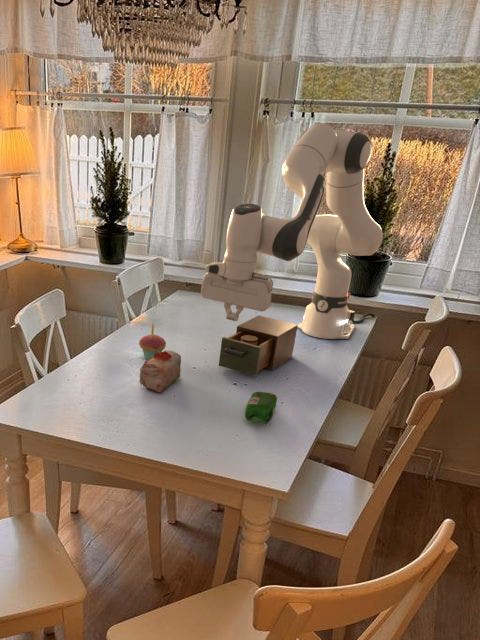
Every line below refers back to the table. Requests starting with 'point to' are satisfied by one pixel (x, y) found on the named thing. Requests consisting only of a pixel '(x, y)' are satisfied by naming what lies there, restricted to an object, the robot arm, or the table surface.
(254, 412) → the snack package
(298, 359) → the table surface
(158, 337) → the cupcake
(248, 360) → the drawer
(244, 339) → the cookie roll
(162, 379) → the food item
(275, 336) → the cabinet
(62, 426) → the table surface
